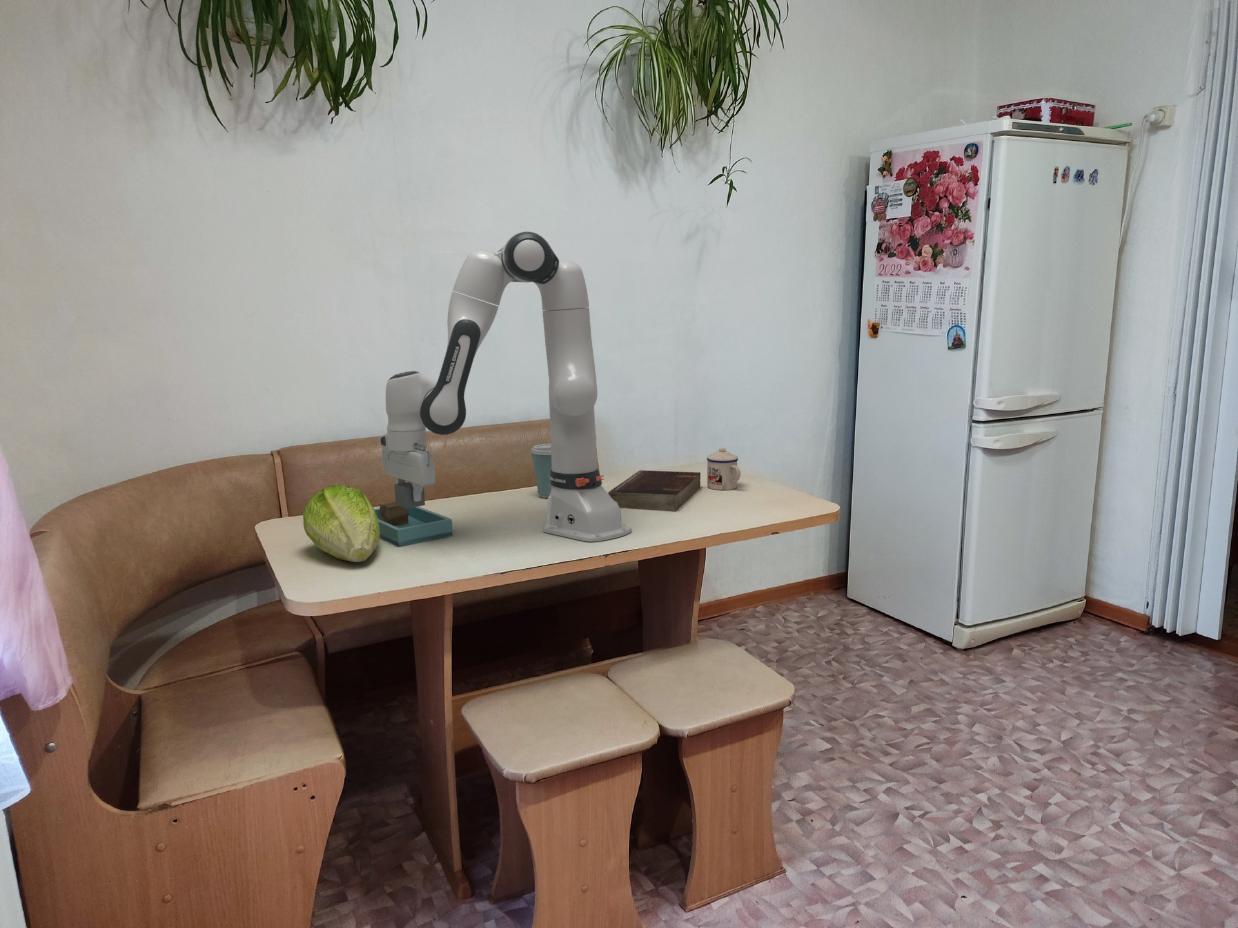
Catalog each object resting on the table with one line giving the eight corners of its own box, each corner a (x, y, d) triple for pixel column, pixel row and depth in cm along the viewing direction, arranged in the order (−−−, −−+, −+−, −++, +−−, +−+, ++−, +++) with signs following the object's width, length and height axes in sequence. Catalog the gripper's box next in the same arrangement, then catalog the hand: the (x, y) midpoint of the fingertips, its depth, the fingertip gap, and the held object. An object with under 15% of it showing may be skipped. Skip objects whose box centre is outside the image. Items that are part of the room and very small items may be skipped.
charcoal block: (424, 505, 207) (423, 484, 206) (405, 508, 203) (404, 487, 202) (414, 501, 210) (413, 481, 209) (395, 504, 207) (394, 484, 206)
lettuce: (398, 579, 191) (324, 600, 185) (371, 519, 209) (303, 536, 203) (390, 526, 183) (313, 546, 177) (363, 468, 201) (292, 484, 195)
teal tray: (452, 535, 208) (451, 519, 207) (398, 546, 199) (397, 530, 198) (410, 517, 225) (409, 502, 224) (358, 527, 216) (357, 512, 215)
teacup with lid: (700, 486, 256) (700, 447, 253) (723, 482, 261) (724, 444, 258) (727, 494, 246) (727, 453, 244) (751, 489, 251) (751, 450, 249)
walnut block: (408, 523, 215) (407, 503, 214) (389, 527, 212) (388, 507, 211) (399, 519, 219) (398, 500, 218) (380, 523, 216) (379, 503, 215)
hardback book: (639, 485, 260) (638, 469, 259) (700, 489, 254) (700, 472, 253) (607, 508, 233) (607, 490, 232) (675, 513, 228) (675, 494, 227)
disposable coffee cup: (525, 498, 244) (523, 446, 241) (542, 490, 253) (541, 439, 250) (559, 501, 240) (558, 448, 237) (575, 493, 250) (574, 441, 247)
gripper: (440, 445, 198) (443, 504, 201) (400, 434, 213) (403, 489, 216) (415, 448, 194) (418, 508, 197) (375, 437, 209) (379, 493, 212)
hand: (410, 498), depth 207 cm, fingers closed on charcoal block, 5 cm apart
